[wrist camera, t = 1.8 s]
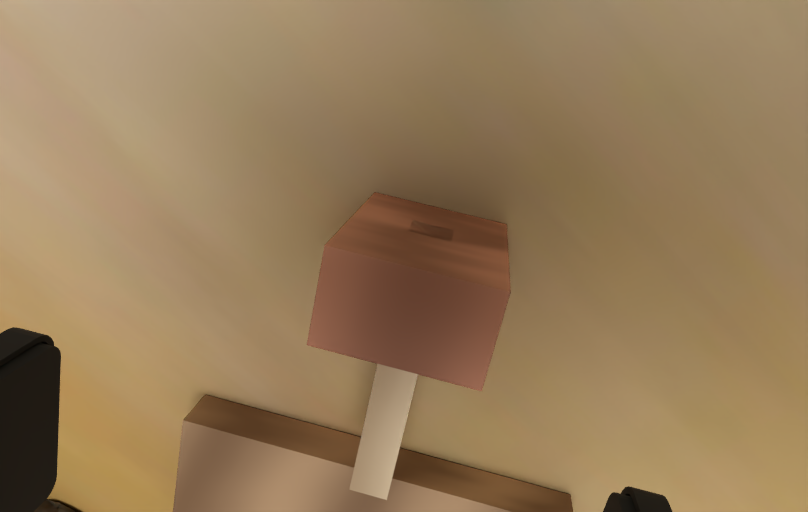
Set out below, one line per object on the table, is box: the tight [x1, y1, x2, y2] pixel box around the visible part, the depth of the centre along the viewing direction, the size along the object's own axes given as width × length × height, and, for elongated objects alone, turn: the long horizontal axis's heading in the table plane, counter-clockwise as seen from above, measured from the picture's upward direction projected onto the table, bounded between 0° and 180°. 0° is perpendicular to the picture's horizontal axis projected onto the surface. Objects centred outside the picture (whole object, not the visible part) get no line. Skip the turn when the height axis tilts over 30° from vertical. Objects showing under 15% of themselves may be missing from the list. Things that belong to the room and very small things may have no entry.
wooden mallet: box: [307, 192, 511, 500], centre depth 21 cm, size 5×10×7 cm, turn 168°
